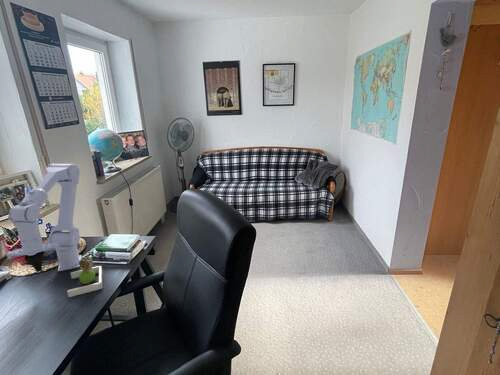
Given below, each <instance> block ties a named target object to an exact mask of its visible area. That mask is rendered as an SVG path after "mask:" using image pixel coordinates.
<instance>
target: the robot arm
mask: <svg viewBox="0 0 500 375" xmlns="http://www.w3.org/2000/svg"><path fill="white" fill-rule="evenodd" d="M80 174H81V172H80V169H79V167H78V165H77V164H75V163H50V164H48V165H47V167H46V168H45V175H44V177H43V179H42V180H41V182H40V183H39V185H38V186H37V188H31V189H30V190H28V193H27V194H26V195H25V196H24V198H23V199H22V200H21V201H20V202H19V204H17V205H14V206H13V207H11V208H10V209H9V211H8V216H7V218H8V220H9V221H10V222H11V223H12V224H13V227H15V228H16V230H17V234H18V238H19V241H20V243H21V244H20V245H21V248H17V249H14V250H11V251H8V252H7V253H6V257H7V260H10V259H13V258H17V257H22V256H24V260H25V261H26V262H27V263H29V264H30V265H31V266H32V267H33V268H34V270H35V272H36V273H39V272H41V271H42V270H43V259H44V255H45V252H48V251H53V250H55V251H56V256H57V260H58V268H57V272H63V271H67V270H72V269H76V268H80V267H81V266H80V265H79V261H80V260H81V259H82V255H81V254H79V251H78V245H79V243H80V240H81V235H80V228H78V227H77V226H76V225H74V215H75V205H76V196H77V195H76V194H77V188H78V184H79V182H80ZM56 184H58V185H60V187H61V192H60V193H61V194H60V201H59V202H60V203H59V208H58V209H59V210H58V218H57V224H56V225H54V226H53V227H51V229H50V234H49V235H48V239H47V240H48V242H47V243H43V238H42V235H41V232H40V228H39V223H38V219H39V217H40V212H41V210H42V206H43V205H44V203H45V202H46V201H47V199H48V198H49V196H48V193H49V192H50V191H51V189H53V188H54V187H55V185H56Z"/></svg>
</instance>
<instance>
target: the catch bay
mask: <svg viewBox="0 0 500 375" xmlns="http://www.w3.org/2000/svg"><path fill="white" fill-rule="evenodd" d="M91 270H93V271H94V272H95V274H97V273H98V282H95V283H92V284H91V283H89V284H88V285H87V284H86V285H84V286H79V287H75V288H72V289H68V290H67V291H66V292H67V296H68V297H67V298H72V297H75V296H78V295H83V294H87V293H90V292H94V291H98V290H102V289H103V268H102V265H98V266H97V265H96V266H92V269H91ZM82 271H83V270H81V269H80V270H75V271H71V272H70V277H71V279H72V280H73V279H77V278H79V275H80V273H81V272H82Z"/></svg>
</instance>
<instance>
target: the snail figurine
mask: <svg viewBox="0 0 500 375" xmlns="http://www.w3.org/2000/svg"><path fill="white" fill-rule="evenodd" d="M93 261H94V260H93V256H90V257H89V258H88V260H87V259H85V258H81V260H80V261H79V265H80V267H79V269H80V270H83V271H82V272H81V273H80V275H79V277H78V279H79V282H80V283H81V284H86V285H87V284H88V285H89V284H91V283H92V282H93V281H94V280H95V279H96V273H95V272H94V271H93V270H91V269H92V267H93V265H94V264H93Z"/></svg>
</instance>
